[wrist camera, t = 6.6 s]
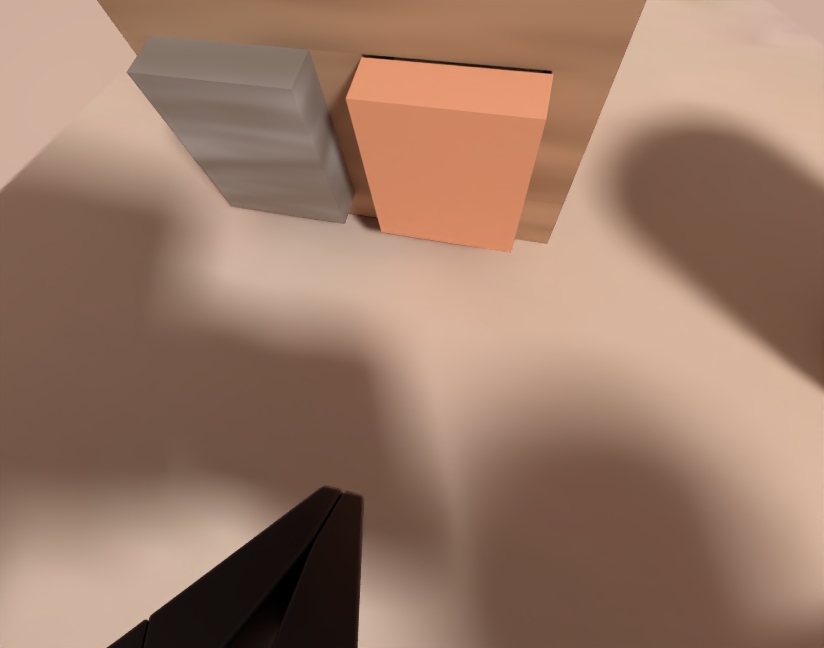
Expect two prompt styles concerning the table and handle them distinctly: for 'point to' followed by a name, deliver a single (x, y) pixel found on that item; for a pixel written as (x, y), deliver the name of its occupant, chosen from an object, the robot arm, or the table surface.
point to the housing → (332, 77)
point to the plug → (448, 146)
